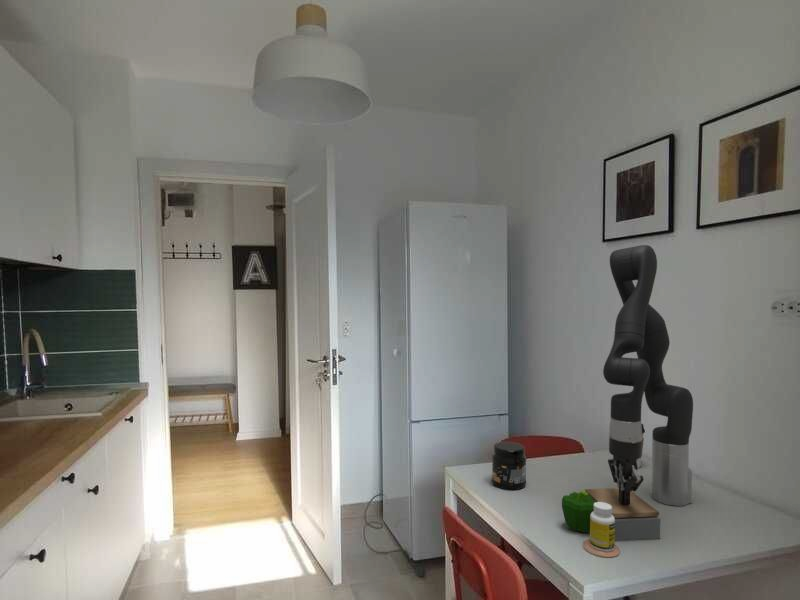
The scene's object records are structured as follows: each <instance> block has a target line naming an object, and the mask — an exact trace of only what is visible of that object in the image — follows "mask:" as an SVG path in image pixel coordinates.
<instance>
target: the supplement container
mask: <svg viewBox="0 0 800 600" xmlns="http://www.w3.org/2000/svg"><path fill="white" fill-rule="evenodd" d="M525 454H526V448H525V446H524V445H523V444H522V443H519V442H514V441H499V442H496V443H495V444H493V454H492V455H491V460H492V464H491V465H492V467H491V470H492V472H491V474H492V476H491V481H492V483H493V485H495V486H496V487H498V488H501V489H503V490H512V491H513V490H520V489H523V488H524V487H525V486H526V484H527V456H526V455H525Z"/></svg>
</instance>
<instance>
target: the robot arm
mask: <svg viewBox="0 0 800 600" xmlns="http://www.w3.org/2000/svg"><path fill="white" fill-rule="evenodd" d="M609 268H610V271H611V274H612V277H613V281H614V283H615V286H616V288H617V292H618V293H619V297H620V300H621V302H622V304H623V305H622V307H621V308H620V310H619V312H618V314H617V316H616V318H615V325H614V335H613V343H612V345H611V349H610V351H609V354H608V355H607V358H606V360H605V362H604V365H603V371H602V372H603V377H604V379H605V380H606V382H607V383H609V384H610V385H615V386H624V387H625V386H628V387H633V388H632V390H631V391H630V392H625V393H616V394H614V395H612V396H611V397H610V419H609V426H608V429H609V430H608V431H609V432H608V437H609V438H608V441H609V442H608V452H609V454H611V455H612V459H608V460H607V463H608V467H609V470H610V473H611V476H612V481H613V482H614V483H615V484H616V488H619V502H620V503H621V504H622V505H629V504H630V491H632V492H637V490H638V489H639V487H640V486H641V485H642V483H643V482H644V477H643V475H639V473H638V470H639V468H638V466H637V459H638V458H640V457H641V456H643V450H642V425H641V424H642V403H643V396H644V397H645V402H646V405H647V407H648V408H649V410H650V411H651V412H652V413H654V414H656V415H660V416H663V417H666V418H667V421H666V422H667V423H666V425H664V426H656V427H654V428H653V429H652V435H651V436H652V439H651V440H652V441H651V442H652V445H651V446H652V454H651V459H652V460H651V498H652V499H653V500H655V501H657V502H658V503H661V504H664V505H668V506H675V507H682V506H686V505H688V504H692V501H693V499H692V497H693V496H692V491H693V490H692V489H693V485H692V484H693V483H692V482H693V470H692V469H691V468H689V464H690V463H689V462H690V460H689V458H690V457H689V452H690V451H689V449H690V448H689V446H690V445H689V444H690V442H689V441H690V435H691V433H692V428H693V415H694V399H693V395H692V393H691V391H690V390H689V389H687V388H685V387H684V386H683V387H682V386H678V385H673V384H668V383H667V382H666V380H665V377H664V371H663V364H664V360H665V358H666V356H667V354H668V351H669V348H670V335H669V332H668V329H667V325H666V321H665V320H664V318H663V316H662V315H661V314H660V313H659V311H657V310H656V309H655V308H654V307H653V306H652V305H651V304H650V299H651V296H652V293H653V289H654V284H655V280H656V275H657V271H658V270H657V269H658V259H657V254H656V252H655V249H654V248H653V247H652V246H650V245H648V244H642V245H641V244H640V245H635V246H630V247H625V248H619V249H615V250H613V251H612V252H611V253H610V255H609ZM633 281H636V285H635V284H634V282H633ZM630 353H636V356H637V358H632V357H623V356H624V355H627V354H630ZM641 458H642V457H641Z"/></svg>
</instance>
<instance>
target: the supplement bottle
mask: <svg viewBox="0 0 800 600" xmlns="http://www.w3.org/2000/svg"><path fill="white" fill-rule="evenodd" d="M589 539H590V545H591V546H592V547H593V548H594V549H596V550H599V551H603V552H610V551H612V550H614V544H616V543H615V542H616V541H615V518H614V516H613V515H612V506H611V505H610V504H607V503H604V502H596V503H594V511H593V512H592V513H591V515H590V532H589Z"/></svg>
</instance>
